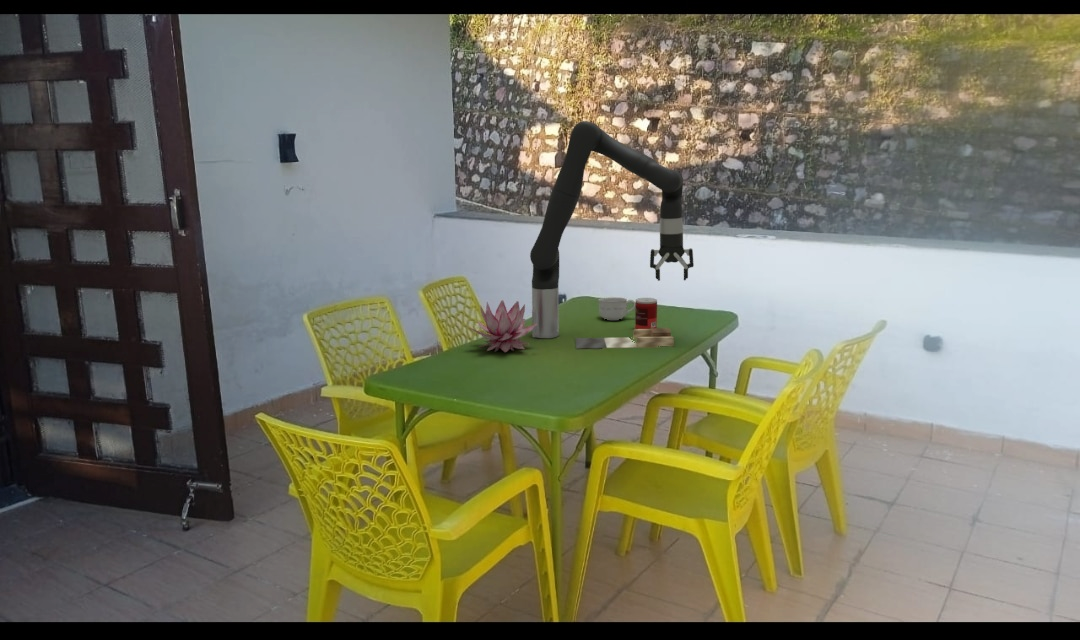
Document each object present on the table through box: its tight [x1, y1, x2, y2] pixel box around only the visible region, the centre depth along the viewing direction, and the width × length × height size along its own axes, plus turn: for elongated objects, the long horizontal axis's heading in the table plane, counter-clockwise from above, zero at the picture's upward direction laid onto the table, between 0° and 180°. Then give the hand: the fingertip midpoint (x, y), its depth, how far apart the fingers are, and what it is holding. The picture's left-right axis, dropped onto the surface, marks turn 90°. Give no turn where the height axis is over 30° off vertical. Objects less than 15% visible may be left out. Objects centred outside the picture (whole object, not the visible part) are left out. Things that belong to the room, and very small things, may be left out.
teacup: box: [598, 296, 636, 321], centre depth 306 cm, size 14×11×8 cm
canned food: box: [634, 297, 658, 329], centre depth 289 cm, size 8×8×11 cm
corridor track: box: [574, 328, 675, 350], centre depth 272 cm, size 32×13×3 cm, turn 90°
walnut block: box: [650, 327, 672, 337], centre depth 271 cm, size 6×6×4 cm
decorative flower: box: [470, 300, 537, 353], centre depth 265 cm, size 21×21×15 cm
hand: (671, 280), depth 270 cm, fingers open, 8 cm apart
